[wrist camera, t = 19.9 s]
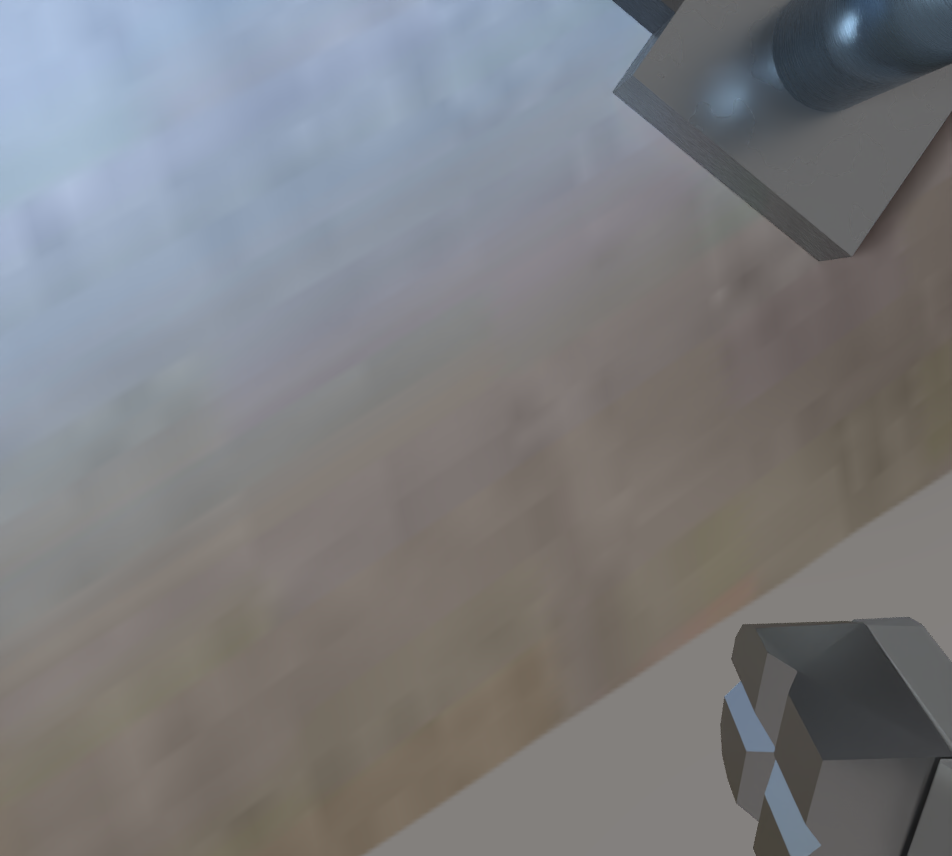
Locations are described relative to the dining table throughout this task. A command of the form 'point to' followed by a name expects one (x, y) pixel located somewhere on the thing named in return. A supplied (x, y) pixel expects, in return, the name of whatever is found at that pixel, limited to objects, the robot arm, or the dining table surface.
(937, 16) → the blue bottle with knob
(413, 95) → the dining table surface
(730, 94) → the press
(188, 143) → the dining table surface
